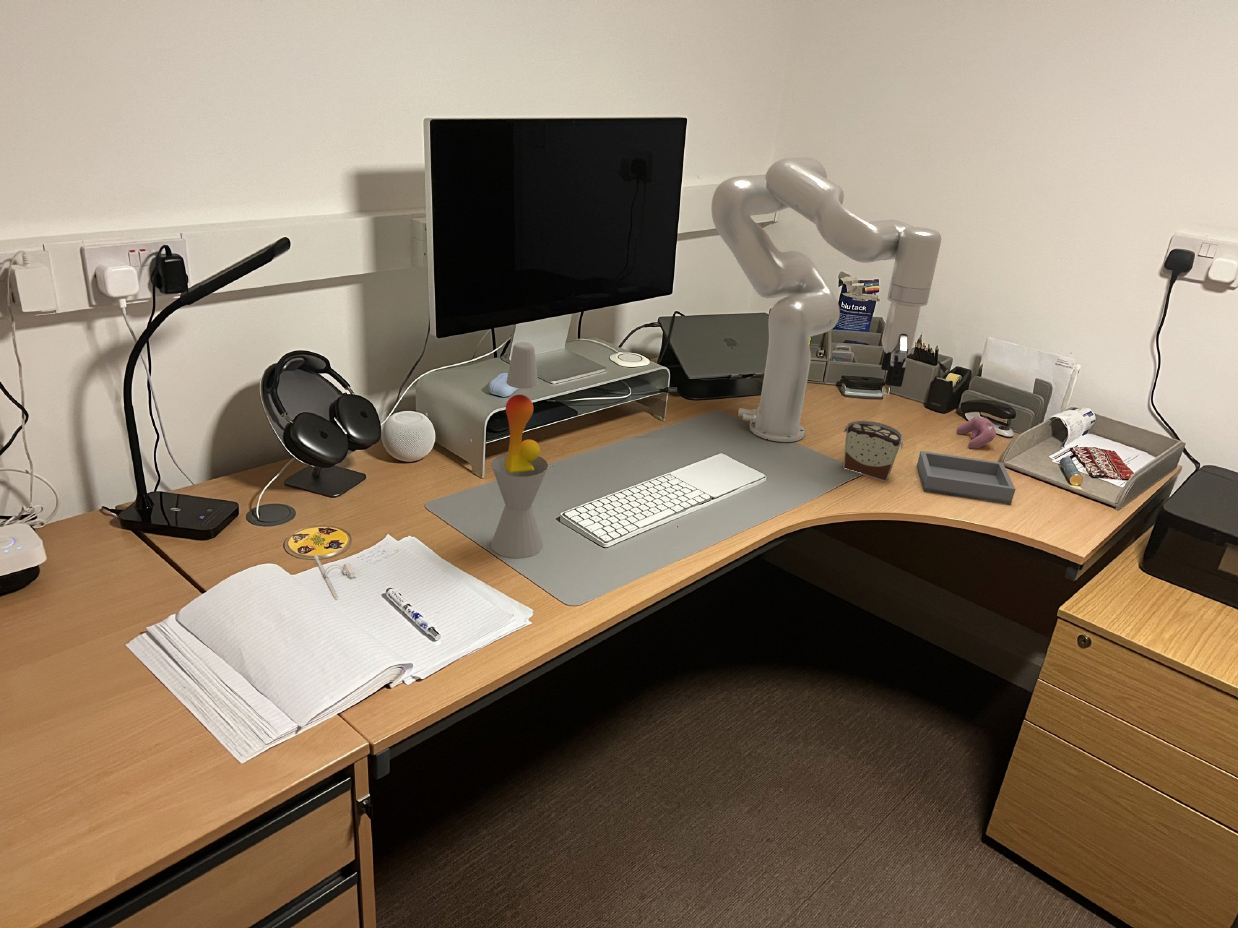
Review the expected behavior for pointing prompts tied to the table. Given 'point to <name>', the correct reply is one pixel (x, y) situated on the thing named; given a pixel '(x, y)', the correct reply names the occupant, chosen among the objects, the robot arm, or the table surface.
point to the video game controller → (978, 431)
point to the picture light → (346, 570)
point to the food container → (871, 448)
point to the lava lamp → (519, 465)
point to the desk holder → (965, 477)
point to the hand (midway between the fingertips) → (890, 377)
